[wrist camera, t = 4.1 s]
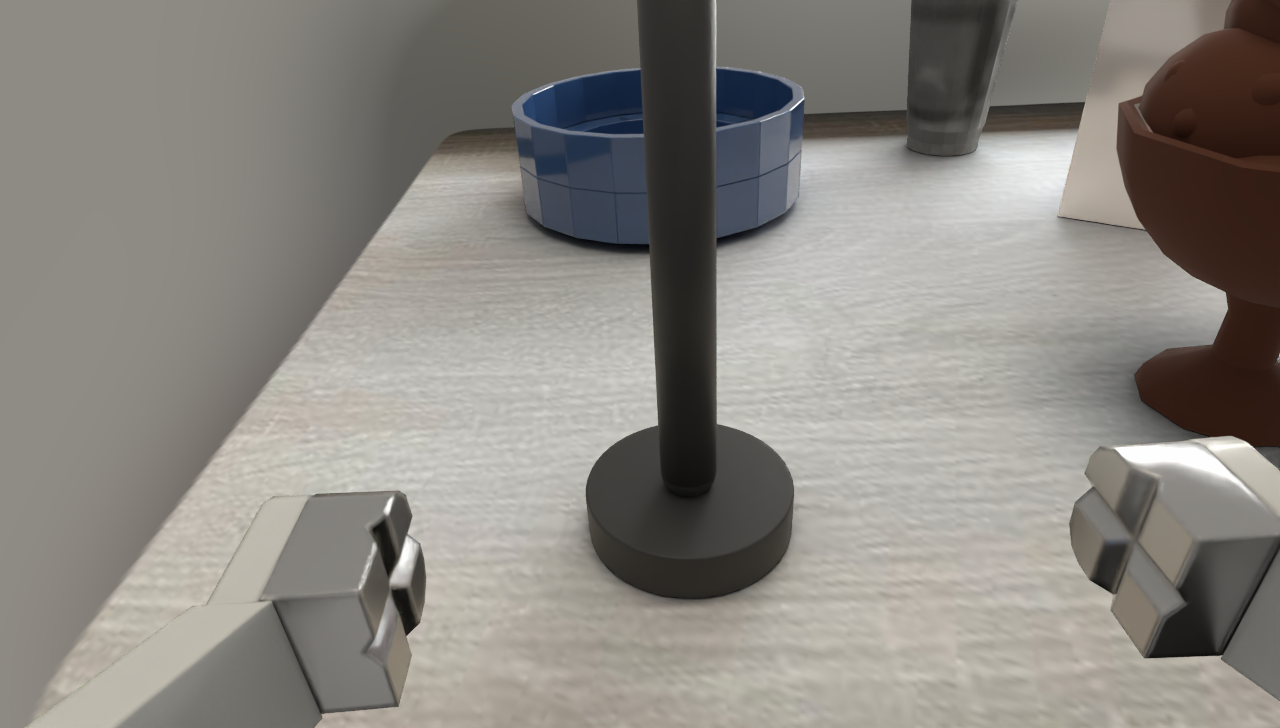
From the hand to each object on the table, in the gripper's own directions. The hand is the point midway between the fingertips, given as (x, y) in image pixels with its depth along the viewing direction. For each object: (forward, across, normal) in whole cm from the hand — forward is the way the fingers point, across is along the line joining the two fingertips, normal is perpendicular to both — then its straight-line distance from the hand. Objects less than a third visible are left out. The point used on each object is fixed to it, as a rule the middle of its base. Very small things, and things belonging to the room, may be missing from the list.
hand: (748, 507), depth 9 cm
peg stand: (+10, 0, +10) cm, 14 cm away
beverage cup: (+45, -20, +10) cm, 50 cm away
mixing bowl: (+38, -1, +10) cm, 39 cm away
